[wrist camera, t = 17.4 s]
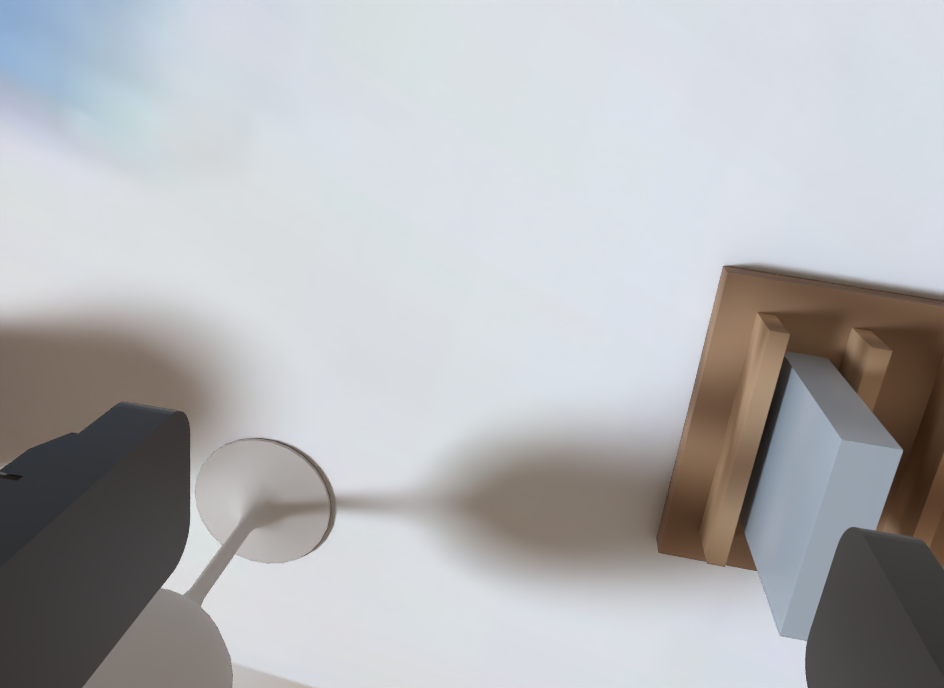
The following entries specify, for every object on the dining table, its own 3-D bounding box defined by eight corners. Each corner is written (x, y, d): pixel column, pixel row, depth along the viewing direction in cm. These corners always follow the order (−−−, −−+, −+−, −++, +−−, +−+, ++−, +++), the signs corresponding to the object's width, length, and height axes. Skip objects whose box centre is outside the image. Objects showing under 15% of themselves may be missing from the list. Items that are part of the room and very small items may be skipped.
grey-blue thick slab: (781, 350, 36) (841, 439, 28) (827, 358, 36) (903, 450, 28) (736, 510, 39) (779, 635, 30) (779, 517, 39) (835, 646, 30)
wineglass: (357, 478, 42) (161, 848, 22) (300, 587, 45) (78, 1004, 25) (224, 409, 42) (-95, 721, 22) (173, 522, 44) (-152, 893, 25)
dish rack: (723, 265, 36) (738, 288, 33) (1202, 342, 35) (1272, 374, 31) (656, 539, 41) (663, 584, 38) (1075, 616, 40) (1124, 671, 36)
